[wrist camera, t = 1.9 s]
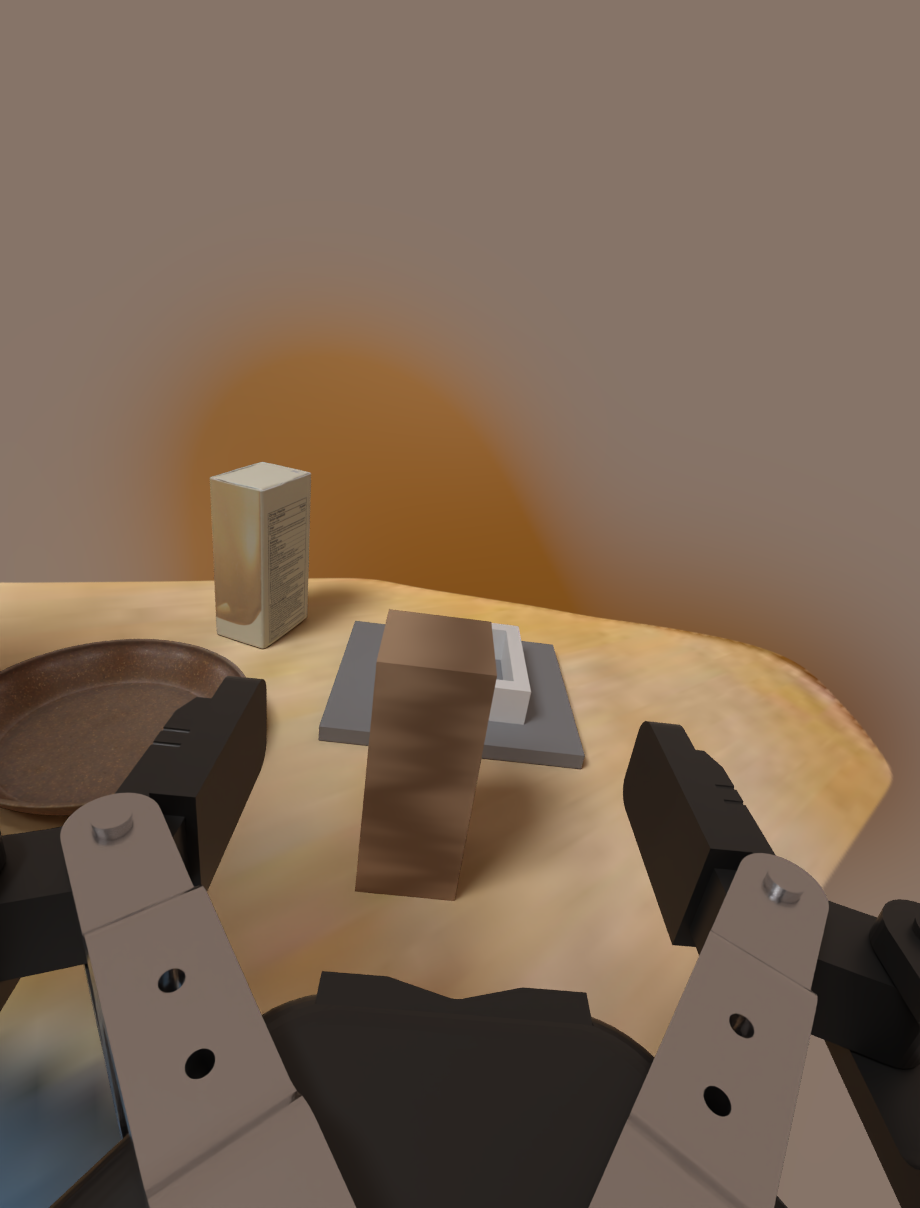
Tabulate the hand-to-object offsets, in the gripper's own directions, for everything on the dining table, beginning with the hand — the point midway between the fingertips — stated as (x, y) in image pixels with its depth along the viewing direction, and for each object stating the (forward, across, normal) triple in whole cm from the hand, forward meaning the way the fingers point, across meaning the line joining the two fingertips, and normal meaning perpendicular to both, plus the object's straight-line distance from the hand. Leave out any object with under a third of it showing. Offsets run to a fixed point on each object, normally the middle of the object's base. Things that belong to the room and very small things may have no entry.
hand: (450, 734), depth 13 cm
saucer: (+17, +17, +16) cm, 29 cm away
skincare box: (+32, +13, +16) cm, 38 cm away
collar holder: (+26, -2, +16) cm, 31 cm away
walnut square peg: (+11, 0, +16) cm, 19 cm away
